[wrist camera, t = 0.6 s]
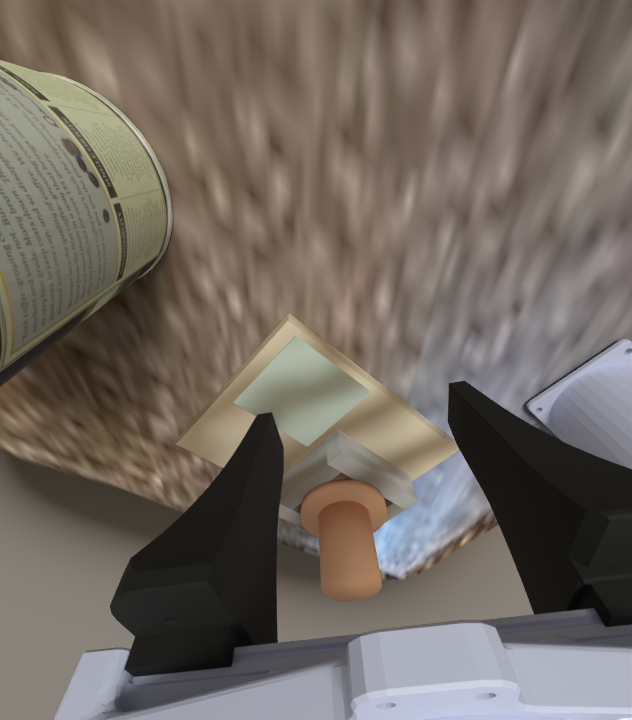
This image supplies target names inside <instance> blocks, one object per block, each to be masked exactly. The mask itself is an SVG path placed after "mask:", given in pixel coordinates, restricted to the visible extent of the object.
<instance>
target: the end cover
mask: <svg viewBox="0 0 632 720" xmlns="http://www.w3.org/2000/svg"><path fill="white" fill-rule="evenodd" d="M386 518H387V508H386V503H385V499H384V497H383V495H382V493H381V492H380V491H379V490H378V489H377V488H375V487H374V486H372V485H370V484H368V483H365V482H362V481H357V480H354V479H352V478H350V477H348V476H347V475H345V474H343V473H342V472H341V473H340V474H339V475H337V476H336V477H335V478H333V479H332V480H331V481H330V482H327V483H324V484H322V485H319V486H317V487H315V488H314V489H312V490H311V491H310V492H309V493H307V495H306V496H305V497H304V499H303V500H302V503H301V523H302V525H303V527H304V528H305V529H306V530H307V531H308V532H309V533H310V534H312V535H314V536H316V537H318V538H319V545H320V571H321V590H322V592H323V594H325V595H326V596H327V597H329V598H331V599H334V600H339V601H357V600H362V599H366V598H368V597H371V596H373V595H374V594H376V593H377V592H378V591H379V590H380V588H381V586H382V582H381V576H380V571H379V565H378V559H377V554H376V548H375V543H374V537H373V533H374V532H375V531H377V530H378V529H379V528H380V527H381V526H382V525H383V524H384V522H385V520H386Z"/></svg>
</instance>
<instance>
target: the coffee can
mask: <svg viewBox="0 0 632 720" xmlns="http://www.w3.org/2000/svg"><path fill="white" fill-rule="evenodd" d="M172 222H173V211H172V201H171V196H170V191H169V187H168V183H167V179H166V176H165V174H164V171H163V169H162V167H161V165H160V163H159V161H158V159H157V157H156V155H155V153H154V151H153V150H152V148H151V146H150V145H149V143H148V142H147V140H146V139H145V138H144V136H143V135H142V133H141V132H140V131H139V130H138V129H137V128H136V126H135V125H134V124H133V123H132V122H131V121H130V120H129V119H128V118H127V117H126V116H125V115H124V114H123V113H122V112H121V111H120V110H119V109H118V108H116V107H115V106H114V105H113V104H112V103H110V102H109V101H108V100H107V99H106V98H105V97H103V96H102V95H100V94H98V93H97V92H95V91H93V90H91V89H89V88H88V87H86V86H84V85H83V84H80V83H78V82H76V81H73V80H71V79H68V78H66V77H63V76H59V75H55V74H51V73H46V72H37V71H34V70H31V69H27V68H24V67H21V66H18V65H14V64H11V63H8V62H5V61H1V60H0V386H1V385H3V384H4V383H5V382H7V381H8V380H9V379H11V378H12V377H13V376H14V375H16V374H17V373H18V372H19V371H21V370H22V369H23V368H24V367H26V366H27V365H28V364H29V363H31V362H32V361H33V360H34V359H36V358H37V357H39V356H40V355H41V354H43V353H44V352H45V351H46V350H47V349H49V348H50V347H51V346H52V345H54V344H55V343H56V342H58V341H59V340H60V339H61V338H63V337H64V336H65V335H66V334H68V333H69V332H70V331H71V330H73V329H74V328H75V327H76V326H78V325H79V324H80V323H81V322H83V321H84V320H85V319H86V318H88V317H89V316H90V315H92V314H93V313H94V312H96V311H97V310H98V309H99V308H101V307H102V306H103V305H104V304H106V303H107V302H108V301H110V300H111V299H112V298H114V297H115V296H116V295H118V294H119V293H120V292H121V291H123V290H124V289H126V288H127V287H128V286H129V285H130V284H132V283H133V282H134V281H136V280H137V279H139V278H140V277H142V276H144V275H145V274H147V273H148V272H149V271H150V270H151V269H153V267H154V266H155V265H156V264H157V263H158V262H159V260H160V259H161V258H162V256H163V254H164V253H165V251H166V248H167V246H168V243H169V240H170V236H171V231H172Z"/></svg>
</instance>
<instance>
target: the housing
mask: <svg viewBox="0 0 632 720" xmlns="http://www.w3.org/2000/svg"><path fill="white" fill-rule="evenodd" d="M269 412H272V414H273V417H274V420H275V423H276V426H277V429H278V432H279V435H280V438H281V441H282V444H283V447H284V472H283V482H282V490H281V499H280V507H279V515H278V517H280V518H282V519H284V520H286V521H288V522H290V523H292V524H295V525H297V526H299V527H301V528H303V529H305V528H304V527H303V525H302V523H301V503H302V500H303V499H304V497H305V496H306V495H307V493H309V492H310V491H311V490H312V489H314V488H315V487H317V486H319V485H322V484H324V483H327V482H330V481H331V480H332V479H333V478H335V477H336V476H337V475H339V474H340V473H341V472H342V473H343V474H345V475H347V476H348V477H350V478H352V479H354V480H357V481H362V482H365V483H368V484H370V485H372V486H374V487H375V488H377V489H378V490H379V491H380V492H381V493H382V495H383V497H384V499H385V503H386V508H387V518H386V520H385V522H387V521H388V520H390V519H391V518H393V517H395V516H396V515H398V514H399V513H401V512H402V511H404V510H406V509H407V508H409V507H410V506H412V505H413V504H415V503H417V502H418V499H417V496H416V493H415V490H414V487H413V484H412V481H414V480H415V479H417V478H418V477H419V476H421V475H422V474H424V473H425V472H427V471H428V470H430V469H431V468H433V467H434V466H436V465H437V464H439V463H440V462H442V461H443V460H445V459H446V458H448V457H449V456H451V455H452V454H454V453H455V452H457V451H458V450H459V449H458V447H457V445H456V443H455V441H454V439H452V438H451V437H450V436H449V435H447V434H446V433H445V432H443V431H442V430H441V429H439V428H438V427H437V426H436V425H434V424H433V423H432V422H430V421H429V420H428V419H426V418H425V417H424V416H422V415H421V414H420V413H419V412H417V411H416V410H415V409H413V408H412V407H411V406H409V405H408V404H407V403H406V402H404V401H403V400H402V399H400V398H399V397H398V396H396V395H395V394H394V393H393V392H391V391H390V390H389V389H387V388H386V387H385V386H383V385H382V384H381V383H379V382H378V381H377V380H376V379H374V378H373V377H372V376H370V375H369V374H368V373H366V372H365V371H364V370H363V369H361V368H360V367H359V366H357V365H356V364H355V363H353V362H352V361H351V360H350V359H348V358H347V357H346V356H344V355H343V354H342V353H340V352H339V351H338V350H336V349H335V348H334V347H333V346H331V345H330V344H329V343H327V342H326V341H325V340H323V339H322V338H321V337H320V336H318V335H317V334H316V333H314V332H313V331H312V330H310V329H309V328H308V327H307V326H305V325H304V324H303V323H301V322H300V321H299V320H297V319H296V318H295V317H293V316H292V315H291V314H290V313H288V314H287V315H286V317H285V318H284V319H283V320H282V321H281V322H280V323H279V324H278V325H277V327H276V328H275V329H274V330H273V331H272V332H271V333H270V334H269V336H268V337H267V338H266V339H265V340H264V341H263V342H262V343H261V345H260V346H259V347H258V348H257V349H256V350H255V351H254V352H253V353H252V355H251V356H250V357H249V358H248V359H247V360H246V361H245V362H244V364H243V365H242V366H241V367H240V368H239V369H238V370H237V371H236V372H235V374H234V375H233V376H232V377H231V378H230V379H229V380H228V381H227V383H226V384H225V385H224V386H223V387H222V388H221V389H220V390H219V392H218V393H217V394H216V395H215V396H214V397H213V398H212V399H211V400H210V402H209V403H208V404H207V405H206V406H205V407H204V408H203V409H202V411H201V412H200V413H199V414H198V415H197V416H196V417H195V418H194V420H193V421H192V422H191V423H190V424H189V425H188V426H187V427H186V428H185V430H184V431H183V432H182V433H181V435H180V437H179V439H178V441H177V444H176V445H178V446H180V447H182V448H184V449H186V450H188V451H190V452H192V453H194V454H196V455H198V456H200V457H202V458H204V459H206V460H208V461H210V462H212V463H214V464H216V465H218V466H220V467H222V468H224V467H225V465H226V464H227V462H228V461H229V460H230V458H231V457H232V455H233V454H234V452H235V451H236V449H237V447H238V446H239V444H240V443H241V441H242V440H243V438H244V436H245V435H246V433H247V431H248V429H249V428H250V426H251V424H252V423H253V421H254V419H255V417H256V416H257V415H258V414H263V413H269ZM385 522H384V523H385ZM305 530H306V529H305Z"/></svg>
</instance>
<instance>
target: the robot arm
mask: <svg viewBox="0 0 632 720" xmlns="http://www.w3.org/2000/svg"><path fill="white" fill-rule="evenodd" d="M527 408H528V409H529V410H530V411H531V412H532V413H533V414H534V415H535V416H536V417H537V418H538V419H539V420H540V421H541V422H542V423H543V424H544V425H545V426H546V427H547V428H548V429H550V430H551V431H552V432H553V433H554V434H555V435H556V436H557V437H558V438H559V439H560V440H559V439H557V438H555V437H553V436H551V435H549V434H547V433H545V432H543V431H541V430H539V429H537V428H536V427H534V426H532V425H530V424H529V423H527V422H525V421H524V420H522V419H520V418H518V417H517V416H515V415H514V414H512V413H510V412H509V411H507V410H506V409H504V408H503V407H501V406H500V405H498V404H497V403H495V402H494V401H492V400H491V399H490V398H488V397H487V396H485V395H484V394H482V393H481V392H480V391H478V390H477V389H475V388H474V387H473V386H471V385H470V384H468V383H467V382H466V381H461V382H455V383H449V401H448V423H449V426H450V428H451V431H452V434H453V436H454V438H455V441H456V443H457V445H458V447H459V449H460V451H461V453H462V454H463V456H464V458H465V460H466V462H467V463H468V465H469V467H470V469H471V470H472V472H473V474H474V476H475V477H476V479H477V481H478V483H479V485H480V486H481V488H482V490H483V492H484V493H485V495H486V497H487V499H488V501H489V503H490V505H491V508H492V510H493V512H494V515H495V517H496V519H497V521H498V524H499V526H500V528H501V530H502V533H503V535H504V538H505V540H506V543H507V545H508V547H509V550H510V552H511V554H512V557H513V560H514V562H515V565H516V567H517V570H518V572H519V575H520V577H521V580H522V583H523V585H524V588H525V591H526V593H527V596H528V598H529V602H530V604H531V607H532V609H533V612H534V615H527V616H517V617H509V618H499V619H490V620H481V621H479V620H459V621H450V622H441V623H432V624H422V625H413V626H404V627H395V628H386V629H378V630H373V631H369V632H364V633H361V634H354V635H345V636H335V637H326V638H318V639H308V640H299V641H290V642H281V643H278V640H277V600H276V599H277V597H276V594H277V593H276V556H277V525H278V515H279V507H280V499H281V490H282V482H283V472H284V447H283V444H282V441H281V438H280V435H279V432H278V429H277V426H276V423H275V420H274V417H273V414H272V412H269V413H263V414H258V415H257V416H256V417H255V419H254V421H253V423H252V424H251V426H250V428H249V429H248V431H247V433H246V435H245V436H244V438H243V440H242V441H241V443H240V444H239V446H238V447H237V449H236V451H235V452H234V454H233V455H232V457H231V458H230V460H229V461H228V462H227V464H226V465H225V467H224V468H223V469H222V471H221V472H220V473H219V475H218V476H217V477H216V479H215V480H214V481H213V482H212V484H211V485H210V486H209V487H208V488H207V490H206V491H205V492H204V493H203V494H202V495H201V496H200V497H199V498H198V499H197V500H196V501H195V502H194V504H193V505H192V506H191V507H190V508H189V509H188V510H187V511H186V512H185V513H184V514H183V515H182V516H181V517H180V518H179V519H177V520H176V521H175V522H174V523H173V524H172V525H171V526H170V527H169V528H167V529H166V530H165V531H164V532H163V533H162V534H161V535H159V536H158V537H157V538H156V539H155V540H153V541H152V542H151V543H149V544H148V545H147V546H146V547H144V548H143V549H142V550H141V551H139V552H138V553H137V554H136V555H134V556H133V557H131V559H130V561H129V563H128V565H127V567H126V569H125V571H124V573H123V576H122V578H121V581H120V583H119V586H118V588H117V590H116V593H115V595H114V597H113V600H112V602H111V605H110V609H111V612H112V614H113V616H114V617H115V618H116V620H117V621H119V622H120V623H121V624H122V625H123V626H124V627H125V628H126V629H128V630H129V631H130V632H131V633H132V634H133V635H134V636H135V639H134V642H133V645H132V648H131V650H130V649H127V648H109V649H101V650H91V651H86V652H85V653H83V655H82V657H81V659H80V662H79V664H78V666H77V668H76V670H75V673H74V675H73V677H72V680H71V682H70V684H69V687H68V689H67V691H66V693H65V696H64V698H63V700H62V702H61V704H60V707H59V709H58V711H57V713H56V716H55V718H54V720H632V342H631V341H629V340H627V339H622V340H620V341H618V342H617V343H615V344H614V345H612V346H611V347H609V348H608V349H606V350H605V351H603V352H602V353H600V354H599V355H597V356H596V357H594V358H593V359H591V360H590V361H588V362H587V363H585V364H584V365H582V366H581V367H579V368H578V369H577V370H575V371H574V372H572V373H571V374H569V375H568V376H566V377H565V378H563V379H562V380H560V381H559V382H557V383H556V384H554V385H553V386H551V387H550V388H548V389H547V390H545V391H544V392H542V393H541V394H539V395H538V396H536V397H535V398H533V399H532V400H530V401H529V402H528V403H527ZM537 408H538V409H537Z"/></svg>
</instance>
